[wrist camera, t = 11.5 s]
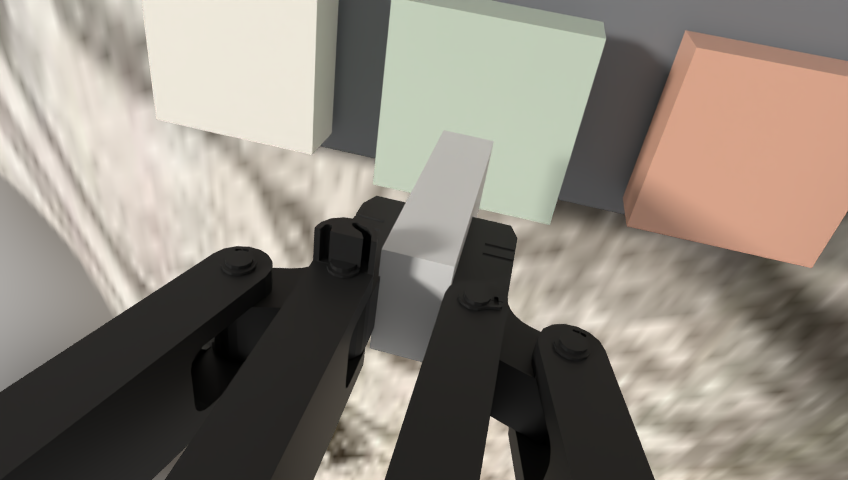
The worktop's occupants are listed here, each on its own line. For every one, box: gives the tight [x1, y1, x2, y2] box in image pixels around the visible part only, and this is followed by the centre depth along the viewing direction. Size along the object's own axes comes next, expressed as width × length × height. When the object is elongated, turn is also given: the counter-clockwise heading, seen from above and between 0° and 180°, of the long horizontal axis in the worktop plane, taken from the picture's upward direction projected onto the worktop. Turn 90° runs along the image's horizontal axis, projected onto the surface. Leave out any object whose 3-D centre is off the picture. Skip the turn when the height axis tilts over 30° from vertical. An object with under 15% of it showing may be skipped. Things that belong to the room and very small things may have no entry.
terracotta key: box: [623, 30, 848, 268], centre depth 22 cm, size 7×7×2 cm
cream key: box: [142, 0, 339, 155], centre depth 24 cm, size 7×7×2 cm
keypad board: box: [321, 0, 848, 214], centre depth 23 cm, size 30×14×2 cm, turn 82°
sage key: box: [373, 0, 606, 225], centre depth 22 cm, size 7×7×2 cm
